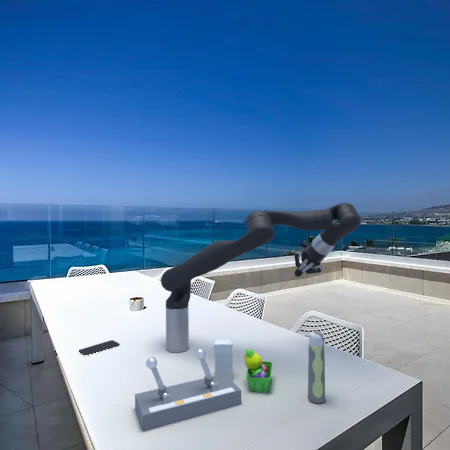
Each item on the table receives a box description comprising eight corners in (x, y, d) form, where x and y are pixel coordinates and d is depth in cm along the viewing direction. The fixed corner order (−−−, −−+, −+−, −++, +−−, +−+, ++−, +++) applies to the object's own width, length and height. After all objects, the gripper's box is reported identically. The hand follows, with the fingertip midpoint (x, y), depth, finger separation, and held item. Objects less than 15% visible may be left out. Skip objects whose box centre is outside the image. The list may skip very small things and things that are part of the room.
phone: (77, 350, 131) (112, 339, 142) (77, 352, 131) (112, 341, 142) (84, 355, 126) (120, 344, 137) (84, 357, 126) (120, 346, 137)
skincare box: (232, 373, 112) (232, 339, 111) (232, 380, 107) (232, 344, 107) (214, 374, 111) (214, 339, 111) (214, 380, 107) (214, 344, 107)
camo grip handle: (306, 394, 98) (306, 329, 98) (323, 395, 98) (323, 329, 97) (309, 403, 93) (309, 334, 93) (326, 404, 93) (326, 335, 92)
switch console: (135, 408, 92) (134, 387, 91) (225, 386, 103) (225, 367, 103) (142, 431, 82) (142, 407, 82) (241, 403, 94) (241, 383, 93)
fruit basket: (271, 395, 98) (271, 358, 98) (242, 392, 100) (241, 356, 99) (272, 376, 109) (272, 343, 109) (246, 374, 111) (246, 342, 111)
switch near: (158, 396, 91) (143, 358, 89) (168, 390, 92) (153, 352, 90) (162, 403, 87) (145, 364, 85) (172, 397, 88) (156, 358, 86)
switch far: (205, 385, 97) (191, 349, 95) (214, 379, 98) (200, 344, 96) (210, 391, 93) (196, 354, 91) (219, 386, 94) (205, 349, 92)
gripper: (304, 242, 123) (280, 271, 133) (334, 262, 122) (308, 289, 132) (307, 233, 129) (285, 261, 139) (336, 251, 128) (311, 278, 138)
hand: (296, 274), depth 135 cm, fingers closed
